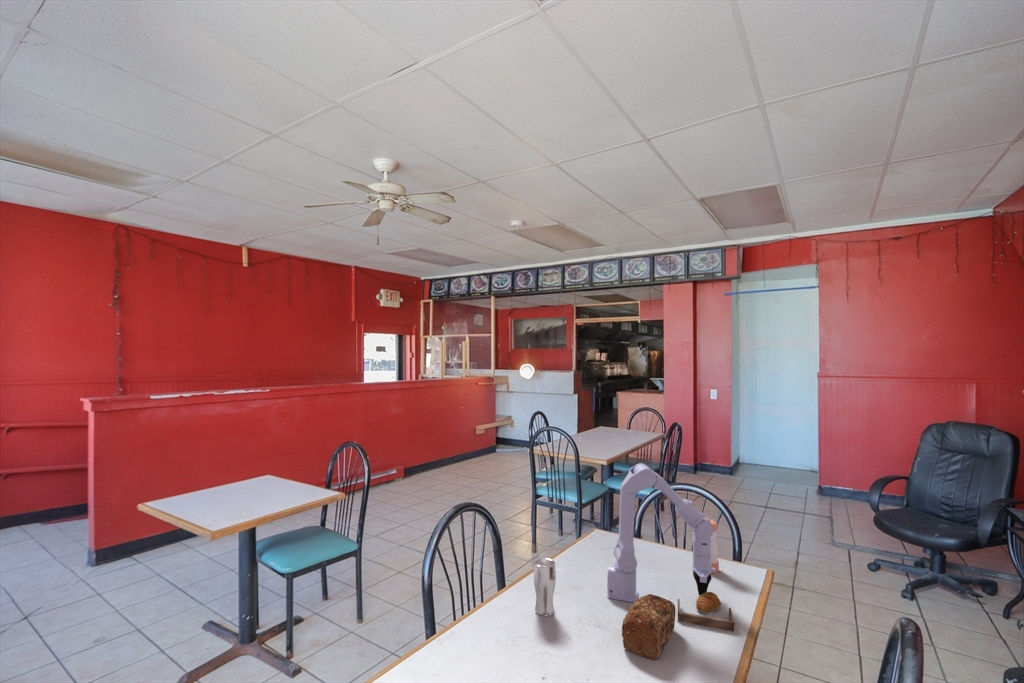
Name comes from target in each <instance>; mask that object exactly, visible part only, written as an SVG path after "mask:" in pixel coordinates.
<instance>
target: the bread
mask: <svg viewBox="0 0 1024 683" xmlns="http://www.w3.org/2000/svg"><path fill="white" fill-rule="evenodd" d="M675 621H676V605H675V603H673V601H671V600H670V599H666V598H664V597H662V596H660V595H654V594H651V593H649V594H647V595H643V596H640V597H639V598H637V600H636V601H635V602H633V604H632V605H631V607H630V608H628V611H627V614H626V615H625V617H624V618H623V621H622V625H621V626H622V627H621V637H622V642H623V643H622V646H623V648H624V649H625V650H627V651H628V652H630V653H633V654H636V655H638V656H639V655H640V656H641V657H644V658H647V659H649V660H653V661H654V660H658V659H659V658H660V655H661V653H662V652H663V650H664V649H665V647H667V644H668V642H670V638H671V636H672V633H673V632H674V629H675Z"/></svg>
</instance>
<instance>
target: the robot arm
mask: <svg viewBox="0 0 1024 683" xmlns="http://www.w3.org/2000/svg"><path fill="white" fill-rule="evenodd" d="M649 488H652V489H654V490H659V491H660V492H662V494H663V495H664V496H665V497H666V498H668V499H669V500H670V502H672V503H673V505H674V507H675V508H674V510H675V512H676V513H677V515H679V517H680V518H682V520H683V521H684V522H685V523H686V524H687V525H688V526H690V529H692V530H693V531H692V566H691V568H692V574H693V575H692V576H693V578H694V580H695V583H696V586H697V592H698V594H697V595H698V597H699V596H700V595H702V594H703V593H705V592H708V587H709V584H710V582H711V581H712V573H711V572H715V568H712V567H711V536H712V535H713V533H714V529H713V527H712V524H711V523H710V522H709V521H708V520H707V519H706V518H707V517H705V514H704V512H700V511H699V509H697V507H696V506H695V503H694V502H693V501H692V500H689V499H687V498H681V496H680V495H679V494H678V493H677V492H676V491H675V490H674V489H673V487H672V486H671V485H669V484H668V482H667V481H666V480H665V479H664V478H663V477H662V476H660V475H659V474H658V473H657V472H655V470H653V469H651V468H650V467H649V465H647V464H645V463H643V462H640V463H637V464H635V465H633V466H632V467H630V468H629V471H628V472H627V475H626V476H625V478H624V479H623V480H622V483H621V484H620V490H619V513H618V514H619V515H618V516H619V517H618V538H617V539H616V540H617V541H616V545H615V547H614V550H613V555H614V557H615V560H616V561H615V563H614V565H608V568H607V586H606V587H607V599H613V600H619V601H624V602H628V603H629V602H630V603H634V602H635V601H636V600H638V596H639V590H638V589H637V568H638V560H637V558H636V556H635V545H634V535H635V534H634V532H635V531H634V530H635V505H636V504H635V502H636V498H635V497H636V495H637V494H638V493H639V492H641V491H643V490H647V489H649Z"/></svg>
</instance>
